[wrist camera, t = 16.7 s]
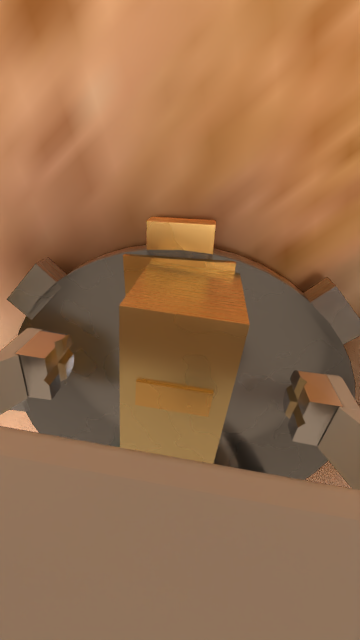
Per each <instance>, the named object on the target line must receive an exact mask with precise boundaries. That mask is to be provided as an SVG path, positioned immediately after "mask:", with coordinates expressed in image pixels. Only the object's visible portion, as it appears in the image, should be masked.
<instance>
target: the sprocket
mask: <svg viewBox="0 0 360 640" xmlns="http://www.w3.org/2000/svg"><path fill="white" fill-rule="evenodd" d="M215 225H216V220H202V219H185V218H167V217H151V218H149V219H148V220H147V221H146V232H147V245H141V246H133V247H128V248H124V249H121V250H117V251H113V252H110V253H106V254H104V255H101V256H99V257H97V258H95V259H93V260H90V261H88V262H86V263H84V264H82V265H81V266H79V267H78V268H76V269H75V270H73V271H72V272H70V273H69V274H66V273H65V272H64V271H63V270H62V269H61V268H59V267H58V266H57V265H56V264H55V263H54V262H53V261H52V260H51V259H50V258H49V257H47V258H45V259H43V260H42V261H40V262H38V263H36V264H35V265H34V266H33V268H32V269H31V270H30V271H29V273H28V274H27V275H26V276H25V278H24V279H23V280H22V281H21V282H20V284H19V285H18V286H17V287H16V289H15V290H14V291H13V292H12V293H11V295H10V296H9V297H8V298H7V300H8V301H9V302H11V303H12V304H13V305H14V306H15V307H17V308H18V309H19V310H20V311H22V312H23V313H24V314H25V315H26V318H25V320H24V322H23V324H22V326H21V328H20V330H19V333H18V335H20V334H21V333H22V332H23V331H24V330H26V329H27V328H35V329H41V330H47V331H53V332H59V333H64V334H69V335H70V336H71V338H72V345H71V347H70V348H69V349H70V350H71V352H72V353H73V354H74V364H73V368H72V371H71V373H70V375H69V376H68V378H67V379H65V380H63V381H61V388H60V389H59V391H58V392H57V393H56V395H55V396H54V398H53V399H52V400H46V399H39V398H32V397H28V398H27V399H26V400H24V401H22V402H21V403H19V404H17V405H16V406H14V407H12V408H11V409H9V410H17V411H25V412H26V413H27V415H28V417H29V418H30V420H31V422H32V424H33V425H34V426H35V428H36V429H37V430H38V432H39V433H42V434H48V435H53V436H59V437H64V438H70V439H76V440H81V441H87V442H93V443H98V444H104V445H110V446H115V447H120V373H119V305H120V304H121V302H122V301H123V299H124V298H125V296H126V295H127V294H128V292H129V291H130V289H131V288H132V286H133V285H134V284H135V282H136V281H137V279H138V278H139V277H140V275H141V274H142V272H143V271H144V269H145V268H146V267H147V265H148V264H149V262H150V261H155V262H163V263H170V264H177V265H184V266H192V267H199V268H206V269H213V270H220V271H228V272H235V273H240V277H241V282H242V287H243V292H244V298H245V303H246V308H247V313H248V319H249V324H250V326H249V329H248V333H247V337H246V341H245V345H244V349H243V352H242V356H241V360H240V364H239V368H238V372H237V375H236V379H235V383H234V387H233V391H232V394H231V398H230V402H229V406H228V410H227V414H226V417H225V421H224V425H223V429H222V433H221V436H220V440H219V444H218V448H217V452H216V456H215V459H214V463H213V464H217V465H222V466H228V467H234V468H239V469H245V470H250V471H256V472H262V473H267V474H273V475H278V476H284V477H290V478H295V479H301V480H305V479H306V478H308V477H309V476H311V475H312V474H314V473H315V472H316V471H317V470H318V469H319V468H320V467H322V466H323V465H324V464H325V463H326V462H327V461H328V459H327V458H326V457H325V456H324V454H323V453H322V452H321V451H320V450H319V448H318V446H314V445H309V444H304V443H299V442H294V441H292V440H291V436H290V432H289V428H288V422H289V420H290V419H289V418H288V417H287V416H286V415H285V413H284V409H283V398H284V394H285V391H286V388H287V387H289V386H290V385H292V383H291V380H290V377H291V375H292V373H293V372H294V370H299V371H306V372H312V373H319V374H330V375H337V376H340V377H342V379H343V380H344V382H345V384H346V385H347V387H348V389H349V391H350V392H351V394H352V396H353V397H354V399H355V380H354V376H353V371H352V367H351V362H350V360H349V357H348V355H347V353H346V350H345V348H344V346H343V344H345V343H347V342H349V341H351V340H353V339H355V338H356V337H358V336H360V318H359V317H358V316H357V314H356V313H355V312H354V310H353V309H352V307H351V306H350V305H349V303H348V302H347V301H346V299H345V298H344V296H343V295H342V294H341V292H340V291H339V290H338V288H337V287H336V286H335V285H334V284H333V283H332V281H331V280H330V279H329V278H328V277H327V278H325V279H324V280H322V281H321V282H319V283H318V284H316V285H315V286H313V287H312V288H310V289H309V290H307V291H305V292H304V293H303V292H302V291H301V290H300V289H298V288H297V287H296V286H295V285H293V284H292V283H291V282H290V281H288V280H287V279H286V278H284V277H282V276H281V275H279V274H277V273H276V272H274V271H272V270H270V269H269V268H267V267H265V266H264V265H262V264H259V263H257V262H254V261H252V260H250V259H247V258H245V257H242V256H240V255H238V254H234V253H230V252H227V251H223V250H219V249H215V248H213V247H214V236H215ZM357 404H358V406H359V408H360V403H357Z"/></svg>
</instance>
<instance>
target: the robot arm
mask: <svg viewBox="0 0 360 640" xmlns="http://www.w3.org/2000/svg"><path fill="white" fill-rule="evenodd" d="M71 345H72V338H71V336H70V335H69V334H64V333H59V332H53V331H47V330H41V329H35V328H27V329H26V330H24V331H23V332H22V333H21V334H20V335H18V336H17V337H16V338H15V339H14V340H13V341H11V342H10V343H9V344H8V345H7V346H5V347H4V348H3V349H2V350H1V351H0V415H1V414H2V413H4V412H6V411H7V410H9V409H11V408H12V407H14V406H16V405H17V404H19V403H21V402H22V401H24V400H26V399H27V398H28V397H32V398H39V399H46V400H52V399H53V398H54V396H55V395H56V393H57V392H58V391H59V389H60V388H61V381H63V380H65V379H67V378H68V376H69V375H70V373H71V371H72V368H73V364H74V354H73V353H72V352H71V350H70V349H69V348H70V347H71ZM290 380H291V383H292V385H290V386H289V387H287V388H286V391H285V394H284V398H283V409H284V413H285V415H286V416H287V417H288V418H289V419H290V420H289V422H288V428H289V432H290V436H291V440H292V441H294V442H299V443H304V444H309V445H314V446H318V448H319V450H320V451H321V452H322V453H323V454H324V456H325V457H326V458H327V459H328V460H329V462H330V463H331V464H332V465H333V466H334V468H335V469H336V470H337V471H338V472H339V474H340V475H341V476H342V477H343V478H344V479H345V481H346V482H347V483H348V484H349V485H350V487H351V488H347V487H341V486H335V485H330V484H324V483H318V482H312V481H307V480H301V479H295V478H290V477H284V476H278V475H273V474H267V473H262V472H256V471H250V470H245V469H239V468H234V467H228V466H222V465H217V464H211V463H206V462H200V461H195V460H189V459H183V458H178V457H172V456H166V455H161V454H155V453H149V452H144V451H138V450H132V449H127V448H121V447H115V446H110V445H104V444H98V443H93V442H87V441H81V440H76V439H70V438H64V437H59V436H53V435H48V434H42V433H36V432H31V431H25V430H19V429H14V428H8V427H2V426H0V640H360V408H359V406H358V404H357V403H356V401H355V399H354V397H353V396H352V394H351V392H350V391H349V389H348V387H347V385H346V384H345V382H344V380H343V379H342V377H340V376H337V375H330V374H319V373H312V372H306V371H299V370H294V372H293V373H292V375H291V377H290Z"/></svg>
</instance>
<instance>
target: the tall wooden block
mask: <svg viewBox="0 0 360 640" xmlns="http://www.w3.org/2000/svg"><path fill="white" fill-rule="evenodd" d="M249 326H250V324H249V319H248V313H247V308H246V303H245V298H244V292H243V287H242V282H241V277H240V273H235V272H228V271H220V270H213V269H206V268H199V267H192V266H184V265H177V264H170V263H163V262H155V261H150V262H149V264H148V265H147V267H146V268H145V269H144V271H143V272H142V274H141V275H140V277H139V278H138V279H137V281H136V282H135V284H134V285H133V286H132V288H131V289H130V291H129V292H128V294H127V295H126V296H125V298H124V299H123V301H122V302H121V304H120V305H119V373H120V447H121V448H127V449H132V450H138V451H144V452H149V453H155V454H161V455H166V456H172V457H178V458H183V459H189V460H195V461H200V462H206V463H211V464H213V463H214V459H215V456H216V452H217V448H218V444H219V440H220V436H221V433H222V429H223V425H224V421H225V417H226V414H227V410H228V406H229V402H230V398H231V394H232V391H233V387H234V383H235V379H236V375H237V372H238V368H239V364H240V360H241V356H242V352H243V349H244V345H245V341H246V337H247V333H248V329H249Z"/></svg>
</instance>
